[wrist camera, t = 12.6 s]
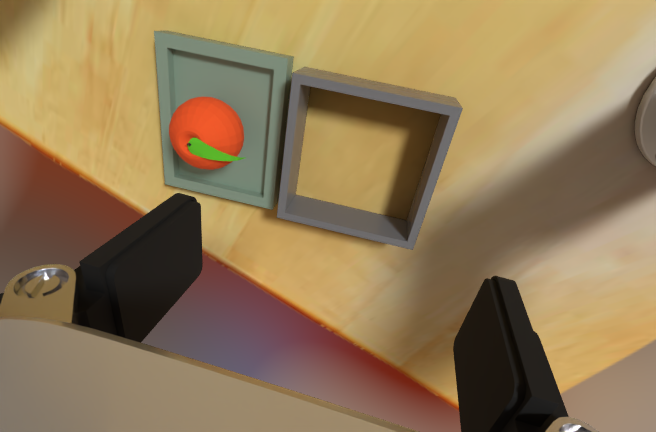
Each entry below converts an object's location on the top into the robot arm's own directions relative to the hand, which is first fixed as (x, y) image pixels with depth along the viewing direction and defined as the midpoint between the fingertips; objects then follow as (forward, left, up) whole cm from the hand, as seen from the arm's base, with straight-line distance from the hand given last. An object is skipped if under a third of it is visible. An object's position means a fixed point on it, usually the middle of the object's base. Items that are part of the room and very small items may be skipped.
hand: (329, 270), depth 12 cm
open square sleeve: (0, +5, -27) cm, 28 cm away
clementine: (+15, +5, -26) cm, 31 cm away
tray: (+15, +5, -27) cm, 32 cm away
